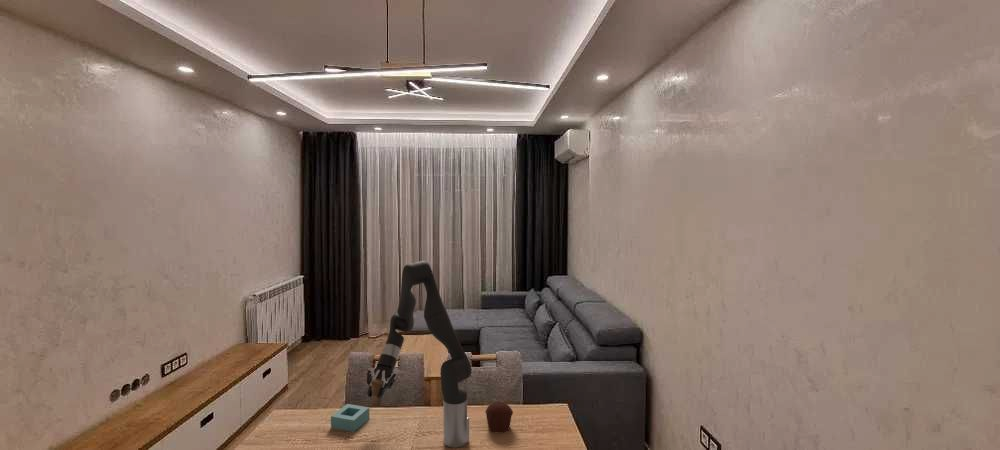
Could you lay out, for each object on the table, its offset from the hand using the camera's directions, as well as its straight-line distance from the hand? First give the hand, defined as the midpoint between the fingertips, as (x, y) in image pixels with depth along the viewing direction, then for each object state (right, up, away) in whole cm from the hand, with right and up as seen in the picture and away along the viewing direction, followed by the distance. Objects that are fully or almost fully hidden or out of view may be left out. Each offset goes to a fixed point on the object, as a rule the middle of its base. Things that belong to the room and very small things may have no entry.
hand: (374, 396), depth 179 cm
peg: (+1, -4, +2) cm, 5 cm away
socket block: (-12, -14, +7) cm, 19 cm away
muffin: (+51, -14, +4) cm, 53 cm away
